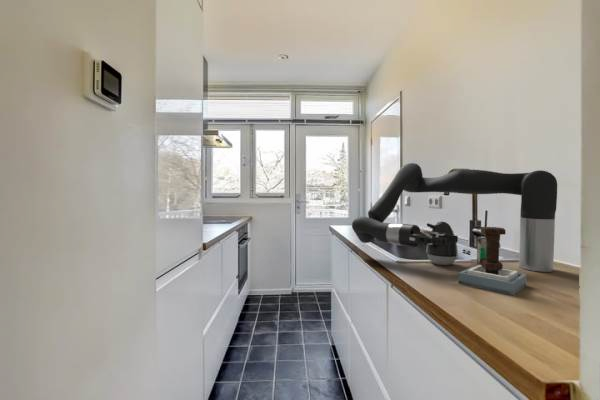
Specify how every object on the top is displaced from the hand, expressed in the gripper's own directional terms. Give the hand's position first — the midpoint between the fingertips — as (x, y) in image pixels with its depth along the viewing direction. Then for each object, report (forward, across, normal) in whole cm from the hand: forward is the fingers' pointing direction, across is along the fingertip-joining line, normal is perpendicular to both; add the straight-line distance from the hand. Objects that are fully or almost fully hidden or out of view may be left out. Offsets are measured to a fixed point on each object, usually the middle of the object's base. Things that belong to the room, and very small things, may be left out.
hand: (451, 240), depth 92 cm
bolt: (+11, 0, -10) cm, 15 cm away
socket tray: (+11, 0, -11) cm, 15 cm away
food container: (+5, -18, -11) cm, 22 cm away
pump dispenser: (-9, -14, -11) cm, 20 cm away
